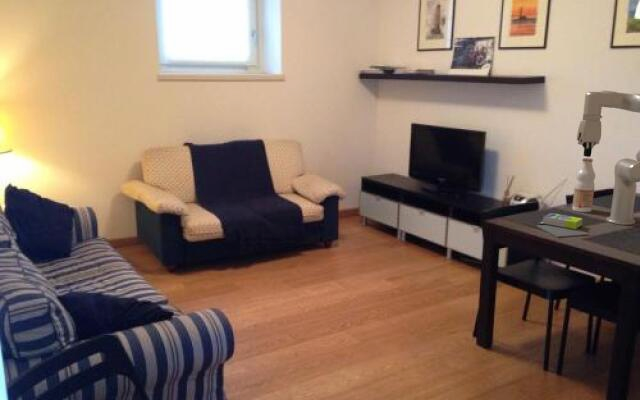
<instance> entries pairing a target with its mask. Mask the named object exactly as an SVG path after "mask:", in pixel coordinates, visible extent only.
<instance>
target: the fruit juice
mask: <svg viewBox="0 0 640 400" xmlns="http://www.w3.org/2000/svg"><path fill="white" fill-rule="evenodd" d="M593 161H594V160H593V158H590V157H583V158H582V161H581V162H582V163H581V166H579V170H578V171H577V172H576V175H575V176H576V181H575V184H574V190H573V199H572V208H571V209H572V210H573V211H575V212H579V213H591V212H592V208H593V200H594V192H595V179H596V172H595V170H594V168H593Z"/></svg>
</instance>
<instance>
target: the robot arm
mask: <svg viewBox="0 0 640 400" xmlns="http://www.w3.org/2000/svg"><path fill="white" fill-rule="evenodd" d="M584 96H585V97H584V106H583V114H582V120H580V123H579V125H578V129H577V133H576V141H577V144H578V145H581V146H582V149H583V157H585V158H590V157H591V156H592V151H593V150H592V149H594V147H595V146H596V145H599V144H600V141H601V138H602V120H601V119H602V118H603V115H602V109H603V108H609V109H619V110H624V111H628V112H632V113H639V114H640V93H625V92H617V91H612V90H601V91H587V92H586V93H585V95H584ZM635 159H636V160H635ZM635 159H632V158H629V157H628V158H621V159H619V160H618V161H617V162H616V164H615V165H614V169H613V171H614V186H613V187H614V188H613V192H612V193H613V194H612V201H611V209H610V216H607V217H606V221H607V222H609V223H611V224H615V225H622V226H631V225H634V224H636V220H635V218H636V219H639V218H640V213H634V207H635V199H636V193H637V183H640V149H639V151H638V150H637V153H636V155H635Z"/></svg>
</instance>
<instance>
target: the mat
mask: <svg viewBox="0 0 640 400" xmlns="http://www.w3.org/2000/svg"><path fill="white" fill-rule="evenodd" d="M536 226H537V227H536V228H538V227H539V228H538V229H540V228H541V229H540V230H542V231H544V232H546V233H548V234H550V235H551V236H554V237H555V238H569V237H570V238H571V237H581V236H582V237H583V236H589V235H590V234H589V233H588V232H586V231H584V230H581V229H580V228H577V229H570V228H564V227H559V226H553V225H548V224H541V225H540V224H539V225H536Z"/></svg>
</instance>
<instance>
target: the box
mask: <svg viewBox="0 0 640 400" xmlns="http://www.w3.org/2000/svg"><path fill="white" fill-rule="evenodd" d="M538 224H541V225H553V226H559V227H564V228H570V229H579V227H581V226H582V224H583V218H582V217H577V216H570V215H565V214H560V213H553V212H549V213H548V214H546V215H544V216H542V220H541V221H540V222H538Z"/></svg>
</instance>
